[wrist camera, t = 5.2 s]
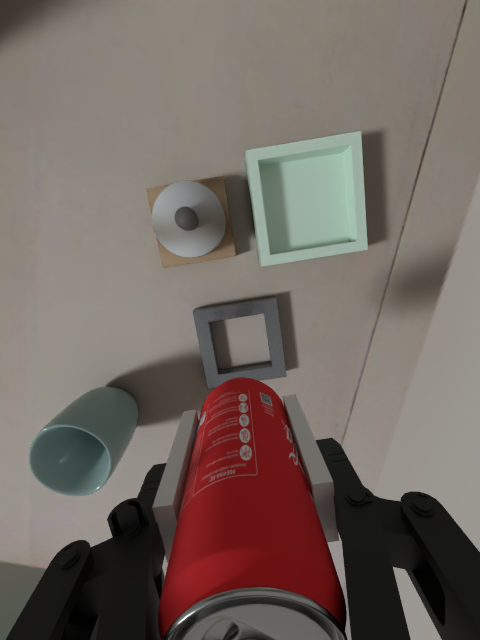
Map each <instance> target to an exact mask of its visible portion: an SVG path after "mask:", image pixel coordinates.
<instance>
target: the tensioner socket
mask: <svg viewBox="0 0 480 640" xmlns="http://www.w3.org/2000/svg"><path fill="white" fill-rule="evenodd" d="M263 313H264V316H265V323H266V331H267V338H268V345H269V352H270V359H271V362H268V363H262V364H255V365H249V366H242V367H235V368H229V369H222V370H219V368H218V363H217V357H216V352H215V347H214V341H213V336H212V330H211V325H210V322H212V321H218V320H224V319H231V318H237V317H244V316H250V315H257V314H263ZM193 316H194V321H195V326H196V331H197V336H198V341H199V346H200V351H201V356H202V361H203V366H204V372H205V377H206V382H207V387H208V388H214V387H218V386H219V385H221V384H222V383H223V382H225V381H227V380H229V379H232V378H237V377H249V378H253V379H256V380H258V381H260V380H267V379H274V378H280V377H287V376H286V368H285V360H284V353H283V345H282V337H281V329H280V322H279V314H278V306H277V299H276V297H275V296H273V297H267V298H261V299H254V300H248V301H241V302H235V303H229V304H222V305H216V306H210V307H203V308H197V309H194V310H193Z"/></svg>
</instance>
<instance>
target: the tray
mask: <svg viewBox="0 0 480 640" xmlns="http://www.w3.org/2000/svg"><path fill="white" fill-rule="evenodd" d="M245 164H246V172H247V179H248V186H249V193H250V200H251V207H252V215H253V222H254V229H255V236H256V243H257V251H258V258H259V265H260V266H268V265H274V264H281V263H287V262H293V261H299V260H306V259H312V258H318V257H324V256H331V255H337V254H343V253H350V252H356V251H362V250H368V244H367V226H366V209H365V191H364V173H363V156H362V138H361V131H358V132H352V133H346V134H340V135H334V136H329V137H323V138H317V139H311V140H305V141H299V142H293V143H287V144H281V145H275V146H269V147H263V148H257V149H252V150H246V156H245Z"/></svg>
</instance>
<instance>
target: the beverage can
mask: <svg viewBox="0 0 480 640" xmlns="http://www.w3.org/2000/svg"><path fill="white" fill-rule="evenodd" d="M345 626H346V604H345V599H344V595H343V591H342V588H341V584H340V581H339V578H338V575H337V572H336V569H335V566H334V563H333V559H332V556H331V553H330V550H329V547H328V544H327V541H326V538H325V534H324V531H323V528H322V525H321V522H320V519H319V516H318V513H317V509H316V506H315V503H314V500H313V497H312V494H311V491H310V487H309V484H308V481H307V478H306V475H305V472H304V469H303V466H302V462H301V459H300V456H299V453H298V450H297V447H296V444H295V441H294V437H293V434H292V431H291V428H290V425H289V422H288V419H287V416H286V412H285V409H284V406H283V403H282V400H281V399H280V398H279V396H278V395H277V394H276V392H275V391H274V390H273V389H271V388H270V387H269V386H267V385H266V384H264V383H262V382H260V381H258V380H256V379H253V378H249V377H237V378H232V379H229V380H227V381H225V382H223V383H222V384H221V385H219V386H218V387H216V388H215V389H214V390H213V391H212V392H211V393H210V394H209V395H208V396H207V398H206V400H205V401H204V404H203V406H202V410H201V415H200V419H199V424H198V429H197V433H196V438H195V442H194V447H193V452H192V456H191V461H190V466H189V470H188V475H187V479H186V484H185V489H184V493H183V498H182V503H181V507H180V512H179V516H178V521H177V526H176V530H175V535H174V540H173V544H172V549H171V553H170V558H169V563H168V567H167V572H166V576H165V581H164V586H163V590H162V595H161V600H160V604H159V610H158V629H159V634H160V638H161V640H347V636H346V633H345Z"/></svg>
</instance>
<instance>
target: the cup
mask: <svg viewBox="0 0 480 640" xmlns="http://www.w3.org/2000/svg"><path fill="white" fill-rule="evenodd" d="M137 421H138V406H137V404H136V401H135V400H134V398H133V397H132V396H131V395H130V394H129V393H127V392H126V391H124V390H122V389H119V388H115V387H100V388H96V389H93V390H91V391H89V392H87V393H85V394H84V395H82V396H80V397H79V398H78V399H76V400H75V401H74V402H72V403H71V404H70V405H69V406H67V407H66V408H65V409H64V410H63V411H61V412H60V413H59V414H58V415H57V416H56V417H55V418H53V419H52V420H51V421H50V422H49V423H48V424H47V425H46V426H45V427H44V428H43V429H42V430H41V431H40V432H39V433H38V434H37V435H36V437H35V438H34V440H33V442H32V444H31V447H30V451H29V465H30V469H31V471H32V473H33V475H34V477H35V478H36V479H37V480H38V481H39V482H40V483H41V484H42V485H44V486H45V487H47V488H48V489H50V490H52V491H54V492H57V493H60V494H64V495H68V496H85V495H89V494H92V493H94V492H96V491H97V490H99V489H100V488H101V487H102V486H103V485H104V484H105V483H106V482H107V480H108V479H109V478H110V476H111V475H112V473H113V472H114V470H115V468H116V467H117V465H118V463H119V461H120V460H121V458H122V456H123V454H124V453H125V451H126V449H127V447H128V445H129V443H130V441H131V439H132V437H133V434H134V432H135V429H136V426H137Z"/></svg>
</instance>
